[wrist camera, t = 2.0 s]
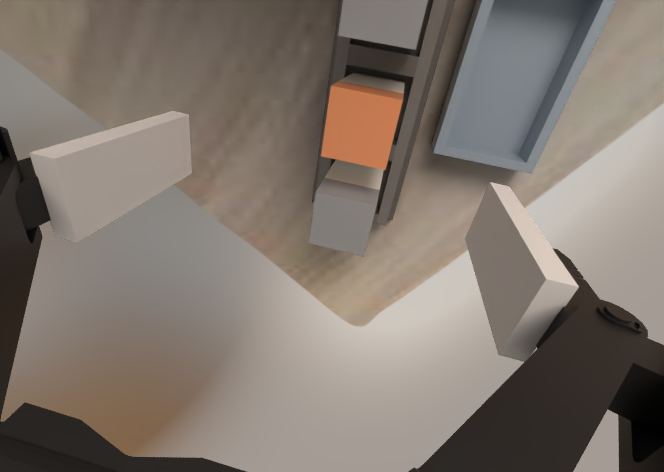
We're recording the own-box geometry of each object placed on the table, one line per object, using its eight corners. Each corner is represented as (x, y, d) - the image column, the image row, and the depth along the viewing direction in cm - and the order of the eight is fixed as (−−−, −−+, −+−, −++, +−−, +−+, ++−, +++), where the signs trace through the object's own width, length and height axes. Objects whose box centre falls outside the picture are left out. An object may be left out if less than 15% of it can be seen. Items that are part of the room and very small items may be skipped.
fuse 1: (372, -29, 27) (352, -67, 17) (429, -20, 26) (441, -53, 17) (361, 37, 29) (338, 35, 20) (413, 46, 28) (415, 49, 19)
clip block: (350, -61, 27) (344, -72, 24) (465, -43, 26) (472, -52, 23) (314, 198, 38) (307, 209, 36) (392, 216, 38) (391, 229, 35)
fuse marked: (355, 71, 30) (330, 85, 21) (404, 81, 30) (402, 100, 21) (346, 122, 33) (320, 156, 23) (392, 132, 32) (385, 170, 23)
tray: (485, -31, 26) (494, -39, 23) (602, -12, 25) (625, -19, 23) (431, 143, 33) (433, 152, 30) (521, 162, 32) (531, 173, 30)
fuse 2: (341, 150, 34) (315, 191, 25) (385, 159, 34) (376, 205, 24) (334, 191, 36) (308, 243, 27) (375, 200, 36) (363, 256, 27)
